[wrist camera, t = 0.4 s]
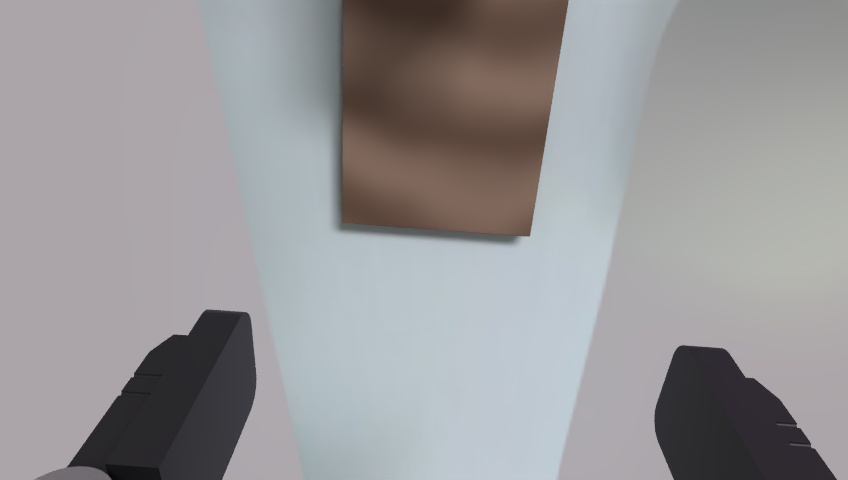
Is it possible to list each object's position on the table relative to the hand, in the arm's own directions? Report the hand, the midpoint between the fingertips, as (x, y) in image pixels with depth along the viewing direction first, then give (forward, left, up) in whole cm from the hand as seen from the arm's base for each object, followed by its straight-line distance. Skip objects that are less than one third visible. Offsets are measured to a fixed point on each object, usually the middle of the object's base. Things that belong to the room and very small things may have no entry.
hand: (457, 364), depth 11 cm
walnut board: (+2, 0, -26) cm, 26 cm away
